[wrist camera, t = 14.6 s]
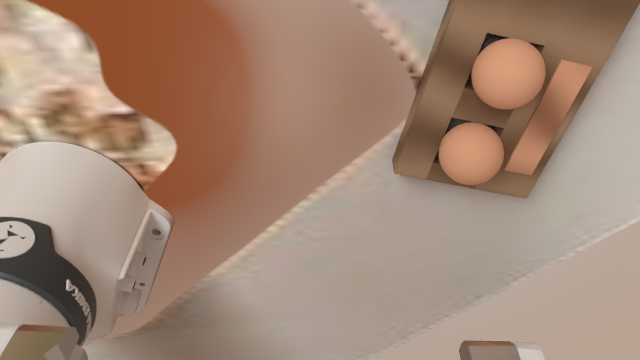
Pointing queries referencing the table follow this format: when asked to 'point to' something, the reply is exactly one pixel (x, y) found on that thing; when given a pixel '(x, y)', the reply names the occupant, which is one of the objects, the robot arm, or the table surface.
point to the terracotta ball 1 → (471, 153)
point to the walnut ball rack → (523, 122)
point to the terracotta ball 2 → (508, 73)
